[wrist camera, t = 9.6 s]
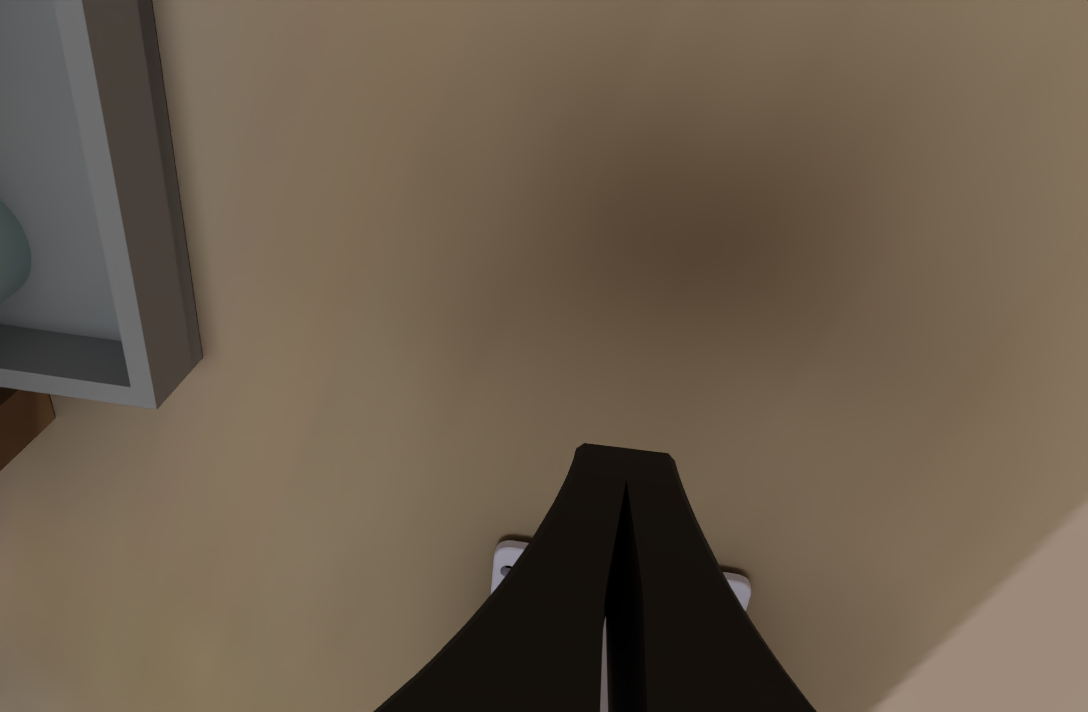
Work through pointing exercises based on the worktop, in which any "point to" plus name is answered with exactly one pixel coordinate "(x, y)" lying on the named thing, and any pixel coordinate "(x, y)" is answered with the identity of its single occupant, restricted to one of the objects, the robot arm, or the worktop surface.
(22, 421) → the small wooden stool
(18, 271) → the pale green rounded cylinder
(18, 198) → the tray
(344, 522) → the worktop surface
